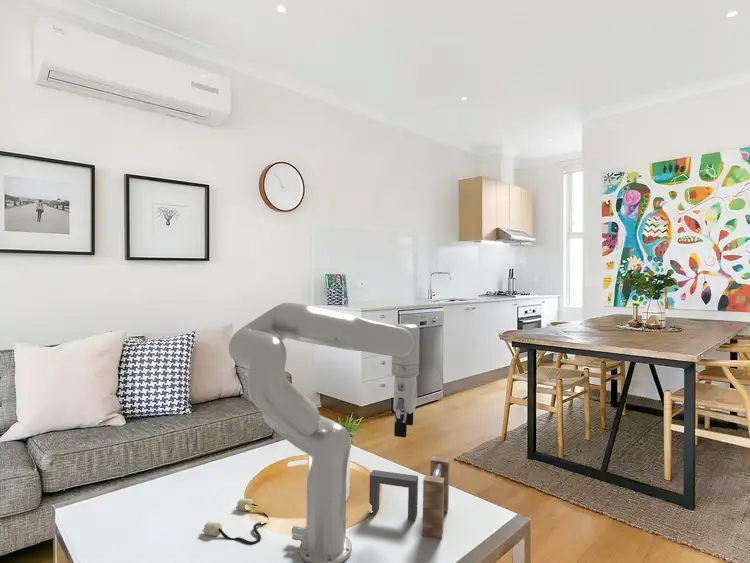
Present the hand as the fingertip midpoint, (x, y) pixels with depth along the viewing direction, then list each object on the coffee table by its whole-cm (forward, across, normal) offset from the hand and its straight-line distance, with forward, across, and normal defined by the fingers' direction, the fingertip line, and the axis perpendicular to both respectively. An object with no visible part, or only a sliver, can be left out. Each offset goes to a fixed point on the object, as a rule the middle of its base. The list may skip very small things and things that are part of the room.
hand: (404, 430), depth 129 cm
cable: (+25, -16, +40) cm, 49 cm away
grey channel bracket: (+24, 0, +3) cm, 24 cm away
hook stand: (+24, 0, -9) cm, 26 cm away
